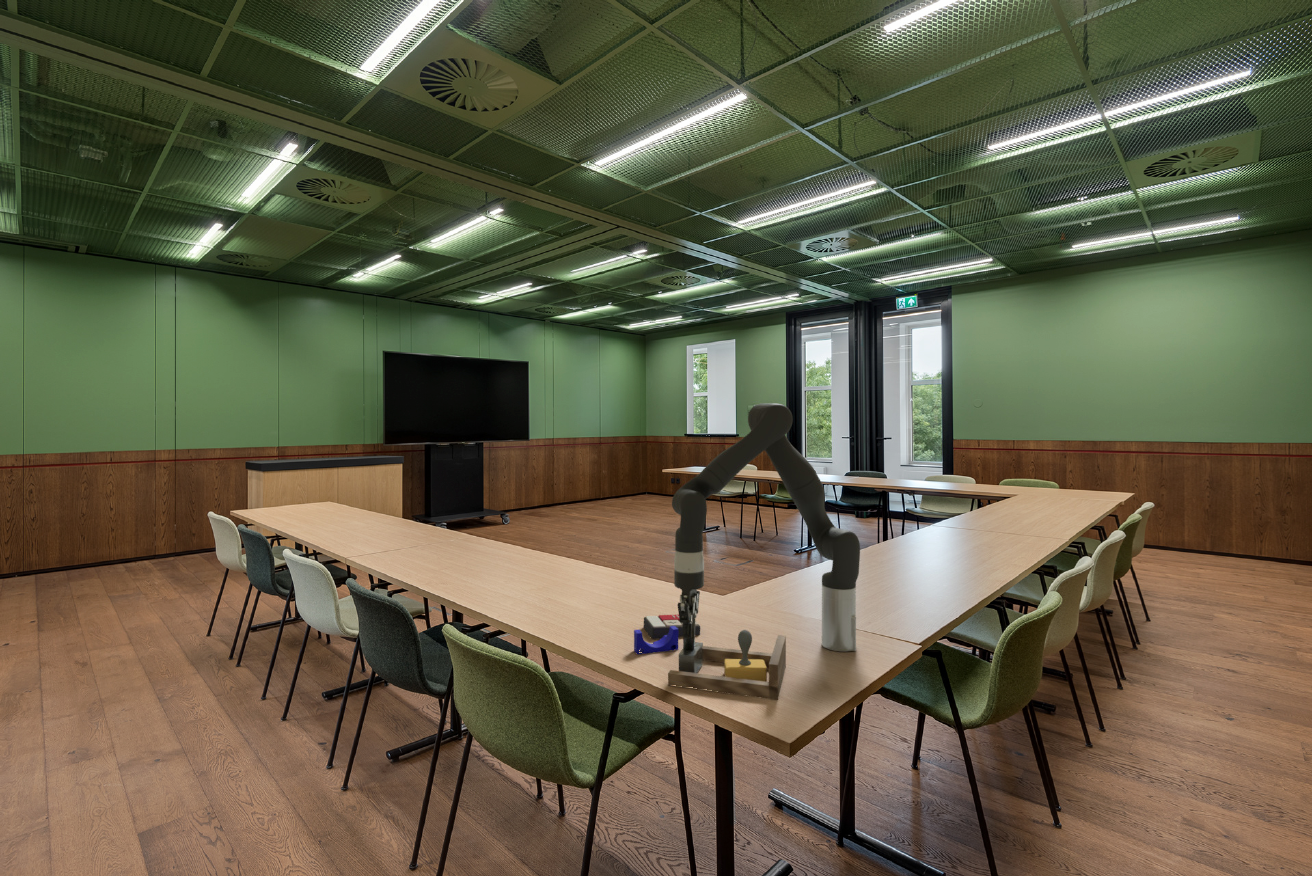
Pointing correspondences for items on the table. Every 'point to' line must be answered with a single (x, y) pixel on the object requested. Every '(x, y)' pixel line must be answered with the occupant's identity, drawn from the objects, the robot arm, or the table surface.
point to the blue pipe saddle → (656, 642)
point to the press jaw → (691, 653)
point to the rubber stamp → (745, 662)
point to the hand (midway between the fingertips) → (689, 635)
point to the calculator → (664, 625)
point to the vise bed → (736, 685)
